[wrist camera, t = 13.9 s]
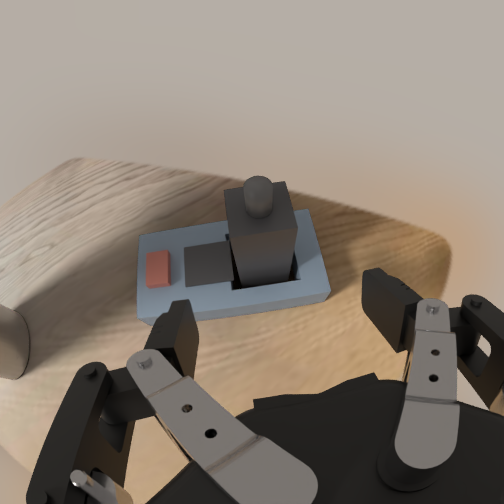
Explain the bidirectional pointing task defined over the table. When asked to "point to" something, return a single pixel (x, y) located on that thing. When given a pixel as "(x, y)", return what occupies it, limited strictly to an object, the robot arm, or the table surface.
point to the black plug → (261, 231)
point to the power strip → (221, 273)
